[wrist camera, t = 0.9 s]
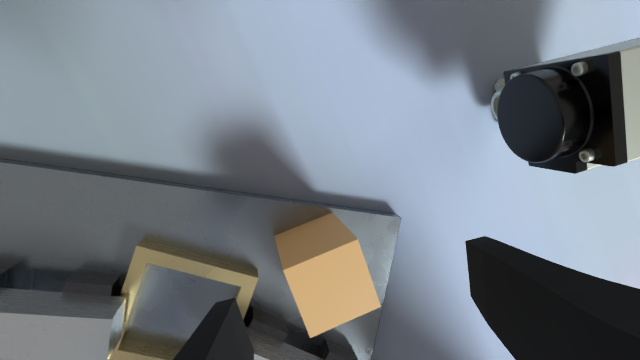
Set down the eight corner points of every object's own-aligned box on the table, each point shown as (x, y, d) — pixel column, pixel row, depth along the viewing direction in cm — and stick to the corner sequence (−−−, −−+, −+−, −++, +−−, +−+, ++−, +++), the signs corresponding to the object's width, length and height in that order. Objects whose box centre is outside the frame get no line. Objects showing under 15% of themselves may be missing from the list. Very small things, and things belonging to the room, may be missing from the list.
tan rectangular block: (351, 266, 25) (381, 306, 20) (295, 290, 24) (310, 338, 19) (332, 212, 24) (357, 239, 19) (274, 235, 24) (283, 270, 18)
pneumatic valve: (437, 84, 25) (603, 57, 14) (585, 47, 27) (843, -5, 15) (450, 163, 26) (613, 200, 15) (591, 123, 28) (836, 127, 16)
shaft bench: (354, 407, 28) (377, 467, 23) (-60, 401, 22) (-142, 478, 18) (395, 213, 26) (429, 235, 21) (-46, 152, 20) (-133, 162, 16)
